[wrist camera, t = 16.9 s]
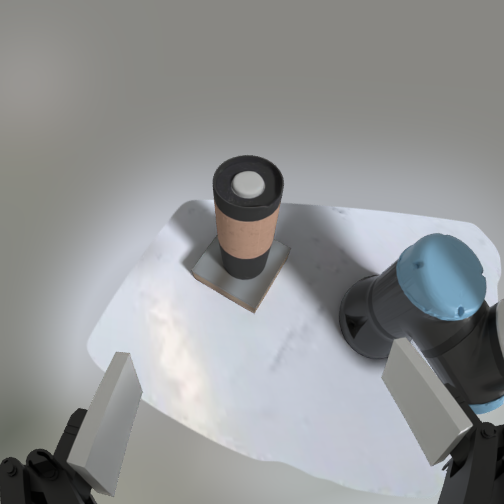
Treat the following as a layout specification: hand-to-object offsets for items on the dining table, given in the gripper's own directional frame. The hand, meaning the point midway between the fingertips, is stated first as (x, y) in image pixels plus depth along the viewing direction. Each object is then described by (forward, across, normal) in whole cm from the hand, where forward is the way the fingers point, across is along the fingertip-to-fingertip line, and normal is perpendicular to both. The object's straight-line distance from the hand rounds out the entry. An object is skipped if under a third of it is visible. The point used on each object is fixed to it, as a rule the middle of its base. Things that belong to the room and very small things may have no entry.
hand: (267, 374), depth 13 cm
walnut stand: (+37, 0, -10) cm, 38 cm away
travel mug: (+34, 0, -7) cm, 35 cm away
